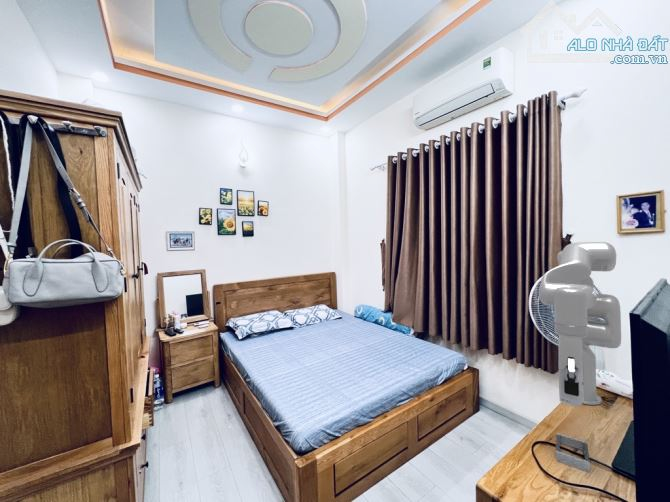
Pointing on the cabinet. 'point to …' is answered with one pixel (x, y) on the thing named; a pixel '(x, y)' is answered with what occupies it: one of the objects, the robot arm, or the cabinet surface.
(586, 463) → the socket collar
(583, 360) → the robot arm
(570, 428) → the cabinet surface
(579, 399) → the skincare box
